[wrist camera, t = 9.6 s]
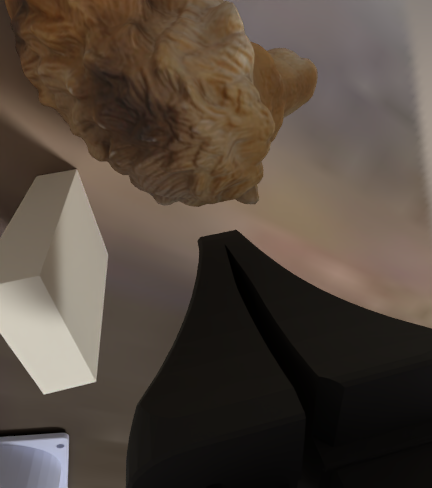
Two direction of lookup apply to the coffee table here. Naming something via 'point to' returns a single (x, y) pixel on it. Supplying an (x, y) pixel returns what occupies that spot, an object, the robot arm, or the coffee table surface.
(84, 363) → the tile
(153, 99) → the lion figurine
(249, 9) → the coffee table surface
